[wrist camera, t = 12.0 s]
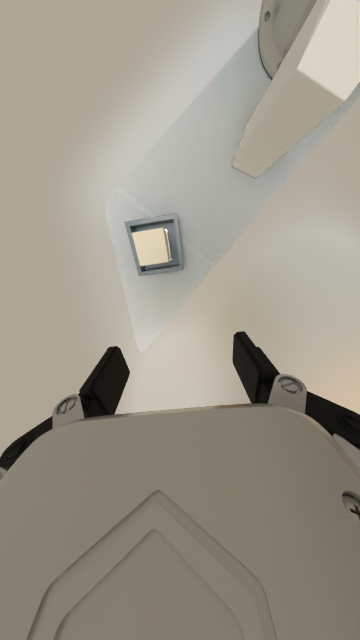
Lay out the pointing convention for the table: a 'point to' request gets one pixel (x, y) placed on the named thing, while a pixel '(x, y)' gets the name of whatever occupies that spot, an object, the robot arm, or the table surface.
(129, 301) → the table surface
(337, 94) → the milk
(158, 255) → the beige cube
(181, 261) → the tote
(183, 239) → the table surface
